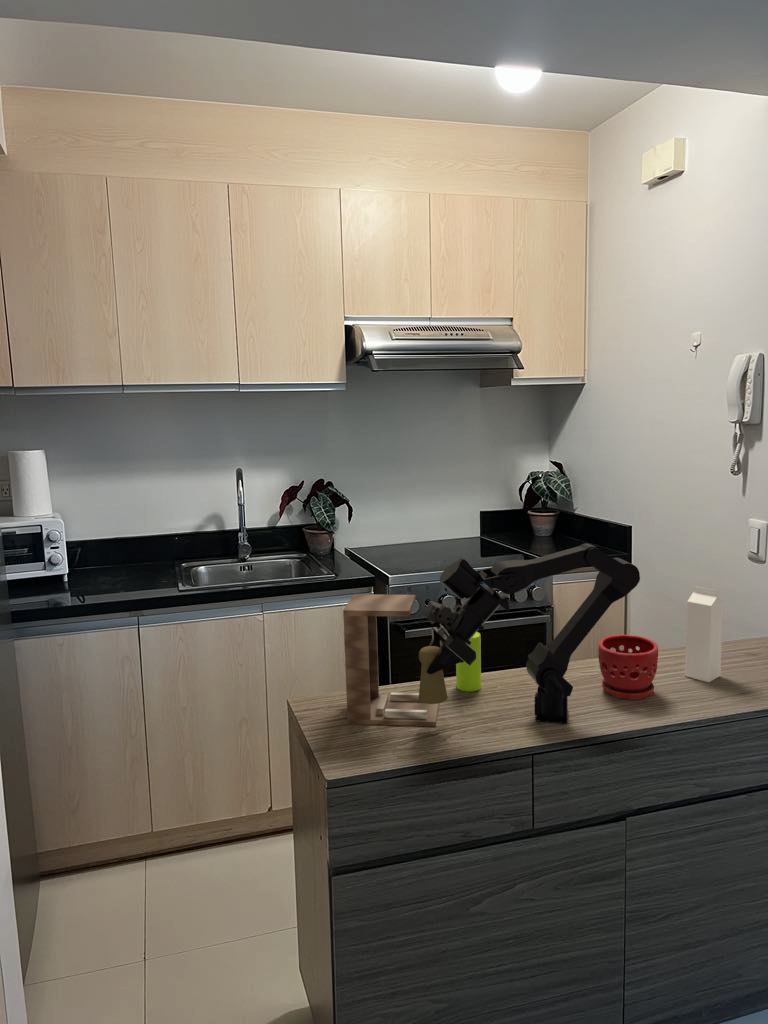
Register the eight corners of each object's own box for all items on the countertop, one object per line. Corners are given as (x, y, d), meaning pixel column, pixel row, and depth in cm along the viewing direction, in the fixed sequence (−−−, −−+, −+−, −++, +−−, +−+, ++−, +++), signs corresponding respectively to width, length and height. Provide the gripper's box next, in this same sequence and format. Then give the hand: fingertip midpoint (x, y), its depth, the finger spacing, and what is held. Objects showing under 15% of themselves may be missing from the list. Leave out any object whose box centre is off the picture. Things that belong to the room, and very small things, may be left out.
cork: (443, 705, 155) (441, 653, 153) (415, 702, 157) (412, 651, 155) (450, 693, 161) (448, 643, 159) (423, 691, 163) (420, 642, 161)
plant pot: (591, 682, 182) (592, 634, 180) (647, 681, 182) (648, 633, 180) (605, 704, 169) (606, 653, 167) (665, 703, 169) (666, 652, 167)
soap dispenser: (466, 694, 177) (465, 611, 174) (452, 684, 183) (450, 604, 180) (488, 690, 179) (487, 608, 176) (473, 680, 185) (472, 601, 182)
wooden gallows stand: (439, 701, 173) (437, 594, 169) (435, 726, 161) (433, 611, 157) (357, 699, 176) (354, 594, 172) (347, 723, 163) (343, 610, 159)
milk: (696, 670, 188) (699, 583, 185) (720, 676, 183) (724, 587, 180) (684, 676, 184) (687, 588, 181) (708, 683, 180) (711, 592, 176)
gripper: (437, 577, 165) (389, 631, 165) (458, 599, 147) (404, 660, 147) (473, 609, 167) (427, 662, 167) (498, 635, 149) (446, 694, 149)
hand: (425, 668), depth 158 cm, fingers closed on cork, 5 cm apart
